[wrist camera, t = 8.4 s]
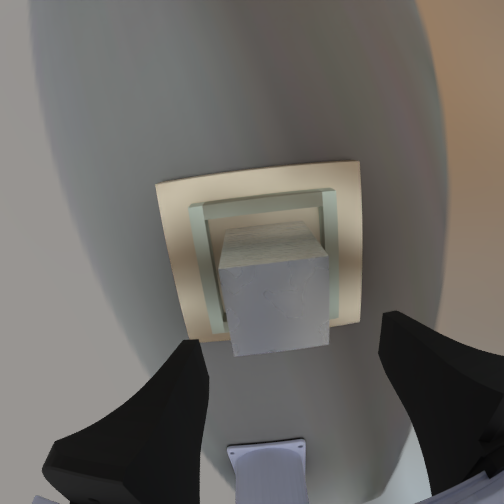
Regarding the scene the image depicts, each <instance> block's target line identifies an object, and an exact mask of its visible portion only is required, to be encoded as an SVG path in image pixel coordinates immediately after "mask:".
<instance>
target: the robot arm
mask: <svg viewBox="0 0 504 504" xmlns="http://www.w3.org/2000/svg"><path fill="white" fill-rule="evenodd" d="M378 354H379V357H380V360H381V362H382V365H383V368H384V370H385V373H386V375H387V376H388V378H389V380H390V382H391V384H392V386H393V387H394V389H395V391H396V393H397V395H398V396H399V398H400V400H401V402H402V404H403V405H404V407H405V409H406V411H407V413H408V415H409V417H410V419H411V422H412V424H413V427H414V430H415V432H416V435H417V438H418V441H419V444H420V447H421V450H422V454H423V457H424V461H425V465H426V469H427V473H428V477H429V482H430V488H431V494H432V497H430V498H428V499H425V500H423V501H420V502H418V503H415V504H504V356H501V355H497V354H492V353H488V352H485V351H482V350H478V349H475V348H473V347H470V346H467V345H464V344H462V343H459V342H457V341H455V340H453V339H450V338H448V337H446V336H444V335H442V334H440V333H438V332H436V331H434V330H432V329H430V328H429V327H427V326H425V325H423V324H421V323H419V322H418V321H416V320H414V319H412V318H410V317H409V316H407V315H405V314H403V313H401V312H399V311H391V312H387V313H383V317H382V327H381V335H380V343H379V351H378ZM208 400H209V375H208V372H207V368H206V365H205V361H204V357H203V354H202V350H201V346H200V342H199V339H191V340H183V341H182V342H181V343H180V345H179V346H178V347H177V348H176V350H175V351H174V352H173V353H172V354H171V356H170V357H169V358H168V359H167V361H166V362H165V363H164V364H163V365H162V367H161V368H160V369H159V370H158V371H157V372H156V374H155V375H154V376H153V377H152V378H151V379H150V380H149V381H148V382H147V383H146V384H145V385H144V386H143V387H142V388H141V389H140V390H139V391H138V392H137V393H136V394H135V395H134V396H132V397H131V398H130V399H129V400H128V401H126V402H125V403H124V404H123V405H121V406H120V407H119V408H117V409H116V410H114V411H113V412H111V413H110V414H109V415H107V416H106V417H104V418H103V419H101V420H99V421H98V422H96V423H94V424H92V425H91V426H89V427H87V428H85V429H83V430H81V431H79V432H76V433H74V434H72V435H69V436H67V437H65V438H62V439H60V440H57V441H55V442H54V444H53V446H52V448H51V450H50V452H49V455H48V457H47V459H46V461H45V463H44V465H43V468H42V473H43V475H44V477H45V478H46V480H47V481H48V482H49V483H50V484H51V485H52V486H53V487H54V488H55V489H56V490H58V491H59V492H60V493H61V494H62V495H63V496H64V497H66V498H67V499H68V500H69V501H70V504H200V496H199V491H200V490H199V489H200V484H199V483H200V481H199V480H200V477H199V476H200V452H201V443H202V437H203V431H204V425H205V419H206V413H207V407H208ZM227 453H228V455H229V458H230V461H231V464H232V466H233V469H234V472H235V474H236V504H309V499H308V493H307V487H306V481H305V457H306V442H305V440H304V439H297V440H290V441H282V442H273V443H264V444H253V445H239V446H229V447H227ZM32 504H59V503H57V502H54V501H51V500H48V499H46V498H43V497H40V496H35V497H34V500H33V502H32Z"/></svg>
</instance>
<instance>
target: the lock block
mask: <svg viewBox="0 0 504 504" xmlns="http://www.w3.org/2000/svg"><path fill="white" fill-rule="evenodd" d="M218 270H219V276H220V282H221V288H222V294H223V299H224V305H225V311H226V316H227V322H228V327H229V332H230V338H231V343H232V348H233V353H234V357H235V356H246V355H255V354H264V353H273V352H281V351H289V350H296V349H303V348H310V347H316V346H323V345H329V256H328V254H327V253H326V252H325V250H324V249H323V247H322V246H321V245H320V243H319V242H318V241H317V239H316V238H315V237H314V235H313V234H312V233H311V231H310V230H309V229H308V227H307V226H306V225H305V223H304V222H303V221H293V222H284V223H275V224H266V225H258V226H249V227H241V228H232V229H226V232H225V237H224V242H223V247H222V252H221V258H220V263H219V268H218Z"/></svg>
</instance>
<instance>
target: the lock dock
mask: <svg viewBox="0 0 504 504" xmlns="http://www.w3.org/2000/svg"><path fill="white" fill-rule="evenodd" d="M155 186H156V192H157V197H158V203H159V208H160V214H161V219H162V224H163V229H164V234H165V239H166V244H167V249H168V253H169V258H170V263H171V267H172V272H173V276H174V280H175V285H176V289H177V293H178V297H179V301H180V305H181V309H182V313H183V317H184V321H185V325H186V328H187V332H188V336H189V339H190V340H191V339H199V342H213V341H224V340H231V338H230V332H229V327H228V322H227V316H226V311H225V305H224V299H223V294H222V288H221V282H220V276H219V270H218V268H219V263H220V258H221V252H222V247H223V242H224V237H225V232H226V229H232V228H241V227H249V226H258V225H266V224H275V223H284V222H293V221H303V222H304V223H305V225H306V226H307V227H308V229H309V230H310V231H311V233H312V234H313V235H314V237H315V238H316V239H317V241H318V242H319V243H320V245H321V246H322V247H323V249H324V250H325V252H326V253H327V254H328V256H329V327H333V326H339V325H345V324H351V323H356V322H360V309H361V287H362V200H361V178H360V162H359V161H355V160H344V161H328V162H314V163H302V164H291V165H281V166H271V167H262V168H253V169H245V170H237V171H229V172H222V173H215V174H208V175H201V176H194V177H188V178H182V179H176V180H170V181H164V182H160V183H158V184H156V185H155Z"/></svg>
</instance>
